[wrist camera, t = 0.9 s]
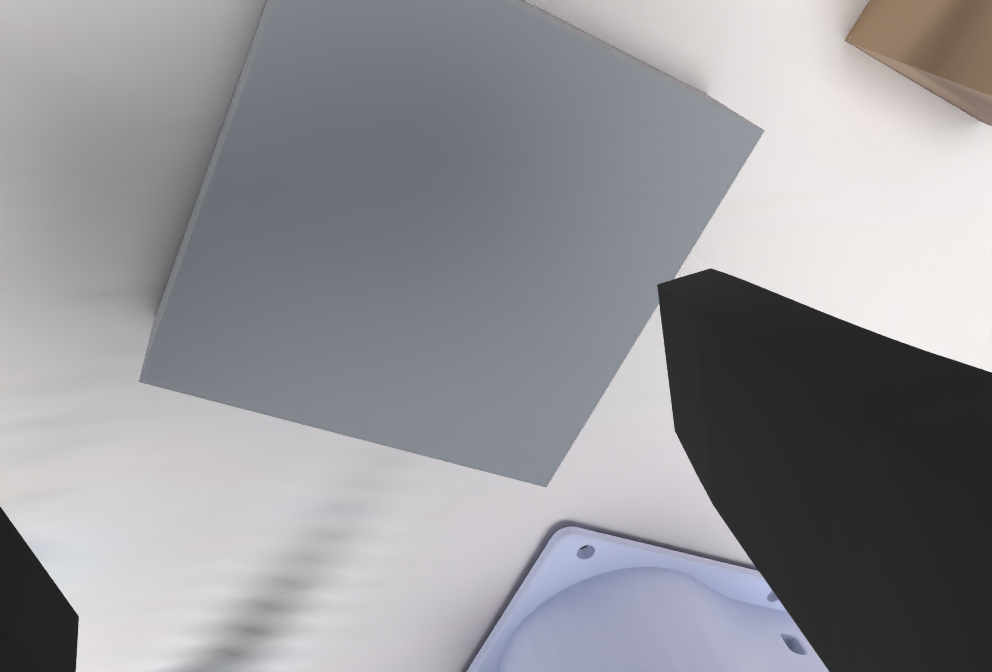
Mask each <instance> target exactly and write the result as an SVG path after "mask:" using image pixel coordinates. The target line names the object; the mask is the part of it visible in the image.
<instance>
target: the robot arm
mask: <svg viewBox="0 0 992 672" xmlns="http://www.w3.org/2000/svg"><path fill="white" fill-rule="evenodd" d="M657 288H658V296H659V304H660V312H661V321H662V329H663V337H664V345H665V353H666V362H667V370H668V378H669V386H670V394H671V402H672V411H673V419H674V427H675V432H676V434H677V436H678V438H679V440H680V442H681V444H682V446H683V448H684V450H685V452H686V454H687V456H688V458H689V460H690V462H691V464H692V466H693V468H694V470H695V472H696V474H697V475H698V477H699V479H700V481H701V483H702V485H703V487H704V489H705V490H706V492H707V494H708V496H709V498H710V500H711V502H712V504H713V505H714V507H715V508H716V510H717V511H718V513H719V514H720V516H721V517H722V519H723V520H724V522H725V523H726V524H727V526H728V527H729V529H730V530H731V532H732V533H733V535H734V536H735V537H736V539H737V540H738V542H739V543H740V545H741V546H742V548H743V549H744V551H745V552H746V553H747V555H748V556H749V558H750V559H751V561H752V562H753V564H754V565H755V566H756V568H757V569H758V571H757V570H752V569H748V568H744V567H740V566H736V565H732V564H728V563H724V562H719V561H715V560H711V559H707V558H703V557H699V556H695V555H690V554H686V553H682V552H678V551H674V550H670V549H666V548H661V547H657V546H653V545H649V544H645V543H641V542H637V541H632V540H628V539H624V538H620V537H616V536H612V535H608V534H604V533H599V532H595V531H591V530H587V529H583V528H579V527H571V526H569V527H565V528H562V529H560V530H558V531H557V532H556V533H555V534H554V535H553V536H552V537H551V539H550V540H549V542H548V543H547V545H546V547H545V548H544V550H543V551H542V553H541V554H540V556H539V558H538V559H537V561H536V562H535V564H534V566H533V567H532V569H531V570H530V572H529V573H528V575H527V577H526V578H525V580H524V581H523V583H522V584H521V586H520V588H519V589H518V591H517V592H516V594H515V596H514V597H513V599H512V600H511V602H510V603H509V605H508V607H507V608H506V610H505V611H504V613H503V614H502V616H501V618H500V619H499V621H498V622H497V624H496V626H495V627H494V629H493V630H492V632H491V633H490V635H489V637H488V638H487V640H486V641H485V643H484V645H483V646H482V648H481V649H480V651H479V652H478V654H477V656H476V657H475V659H474V660H473V662H472V663H471V665H470V667H469V668H468V670H467V671H466V672H992V373H991V372H988V371H985V370H982V369H979V368H976V367H973V366H970V365H967V364H964V363H961V362H958V361H955V360H952V359H949V358H946V357H942V356H939V355H936V354H933V353H930V352H927V351H924V350H921V349H919V348H916V347H913V346H910V345H907V344H905V343H902V342H899V341H896V340H894V339H891V338H888V337H885V336H883V335H880V334H877V333H875V332H872V331H869V330H867V329H864V328H861V327H859V326H856V325H854V324H851V323H849V322H846V321H843V320H841V319H838V318H836V317H833V316H831V315H828V314H826V313H823V312H821V311H818V310H816V309H813V308H811V307H808V306H806V305H803V304H801V303H799V302H796V301H794V300H791V299H789V298H786V297H784V296H781V295H779V294H777V293H774V292H772V291H769V290H767V289H764V288H762V287H759V286H757V285H754V284H752V283H749V282H747V281H744V280H742V279H739V278H737V277H734V276H731V275H729V274H726V273H723V272H720V271H717V270H714V269H707V270H704V271H701V272H697V273H694V274H691V275H687V276H684V277H680V278H677V279H674V280H670V281H667V282H664V283H660V284H657ZM585 545H588V546H587V547H586V548H584V549H580V548H581V547H583V546H585ZM78 621H79V616H78V615H77V613H76V612H75V611H74V609H73V608H72V606H71V605H70V604H69V602H68V601H67V599H66V598H65V597H64V595H63V594H62V592H61V591H60V590H59V588H58V587H57V585H56V584H55V583H54V581H53V580H52V578H51V577H50V576H49V574H48V573H47V571H46V570H45V569H44V567H43V566H42V564H41V563H40V562H39V560H38V559H37V557H36V556H35V555H34V553H33V552H32V550H31V549H30V548H29V546H28V545H27V543H26V542H25V541H24V539H23V538H22V536H21V535H20V534H19V532H18V531H17V529H16V528H15V527H14V525H13V524H12V522H11V521H10V520H9V518H8V517H7V515H6V514H5V513H4V511H3V510H2V508H1V507H0V672H75V671H76V656H77V638H78Z"/></svg>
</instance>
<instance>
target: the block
mask: <svg viewBox="0 0 992 672" xmlns="http://www.w3.org/2000/svg"><path fill="white" fill-rule="evenodd" d="M845 41H846V42H848V43H849V44H851V45H853V46H855V47H856V48H858V49H860V50H861V51H863V52H865V53H866V54H868V55H870V56H871V57H873V58H875V59H876V60H878V61H880V62H882V63H883V64H885V65H887V66H888V67H890V68H892V69H893V70H895V71H897V72H898V73H900V74H902V75H903V76H905V77H907V78H909V79H910V80H912V81H914V82H915V83H917V84H919V85H920V86H922V87H924V88H925V89H927V90H929V91H930V92H932V93H934V94H936V95H937V96H939V97H941V98H942V99H944V100H946V101H947V102H949V103H951V104H952V105H954V106H956V107H957V108H959V109H961V110H963V111H964V112H966V113H968V114H969V115H971V116H973V117H974V118H976V119H978V120H979V121H981V122H983V123H986V124H988V125H991V126H992V0H870V1H869V3H868V4H867V6H866V7H865V9H864V11H863V12H862V14H861V15H860V17H859V19H858V20H857V22H856V23H855V25H854V27H853V28H852V30H851V31H850V33H849V35H848V36H847V38H846V39H845Z"/></svg>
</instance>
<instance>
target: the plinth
mask: <svg viewBox="0 0 992 672" xmlns="http://www.w3.org/2000/svg"><path fill="white" fill-rule="evenodd" d="M763 132H764V130H762V129H761V128H759V127H758V126H756V125H754V124H753V123H751V122H750V121H748V120H746V119H745V118H743V117H742V116H740V115H738V114H737V113H735V112H734V111H732V110H731V109H729V108H727V107H726V106H724V105H723V104H721V103H719V102H718V101H716V100H715V99H713V98H711V97H710V96H708V95H706V94H704V93H702V92H700V91H698V90H696V89H694V88H692V87H691V86H689V85H687V84H685V83H683V82H681V81H679V80H677V79H675V78H673V77H671V76H669V75H667V74H665V73H663V72H661V71H659V70H657V69H655V68H653V67H652V66H650V65H648V64H646V63H644V62H642V61H640V60H638V59H636V58H634V57H632V56H630V55H628V54H626V53H624V52H622V51H620V50H618V49H616V48H615V47H613V46H611V45H609V44H607V43H605V42H603V41H601V40H599V39H597V38H595V37H593V36H591V35H589V34H587V33H585V32H583V31H581V30H579V29H577V28H576V27H574V26H572V25H570V24H568V23H566V22H564V21H562V20H560V19H558V18H556V17H554V16H552V15H550V14H548V13H546V12H544V11H542V10H540V9H538V8H537V7H535V6H533V5H531V4H529V3H527V2H525V1H523V0H267V1H266V4H265V6H264V9H263V12H262V15H261V18H260V21H259V23H258V26H257V29H256V32H255V35H254V38H253V41H252V43H251V46H250V49H249V52H248V55H247V58H246V60H245V63H244V66H243V69H242V72H241V75H240V77H239V80H238V83H237V86H236V89H235V92H234V94H233V97H232V100H231V103H230V106H229V109H228V112H227V114H226V117H225V120H224V123H223V126H222V129H221V131H220V134H219V137H218V140H217V143H216V146H215V148H214V151H213V154H212V157H211V160H210V163H209V165H208V168H207V171H206V174H205V177H204V180H203V182H202V185H201V188H200V191H199V194H198V197H197V200H196V202H195V205H194V208H193V211H192V214H191V217H190V219H189V222H188V225H187V228H186V231H185V234H184V236H183V239H182V242H181V245H180V248H179V251H178V253H177V256H176V259H175V262H174V265H173V268H172V271H171V273H170V276H169V279H168V282H167V285H166V288H165V290H164V293H163V296H162V299H161V302H160V305H159V307H158V310H157V313H156V316H155V319H154V323H153V327H152V331H151V335H150V339H149V343H148V347H147V351H146V355H145V359H144V363H143V367H142V371H141V375H140V379H139V382H142V383H146V384H150V385H153V386H157V387H161V388H165V389H169V390H173V391H177V392H180V393H184V394H188V395H192V396H196V397H200V398H204V399H207V400H211V401H215V402H219V403H223V404H227V405H231V406H234V407H238V408H242V409H246V410H250V411H254V412H258V413H261V414H265V415H269V416H273V417H277V418H281V419H285V420H289V421H292V422H296V423H300V424H304V425H308V426H312V427H316V428H319V429H323V430H327V431H331V432H335V433H339V434H343V435H346V436H350V437H354V438H358V439H362V440H366V441H370V442H373V443H377V444H381V445H385V446H389V447H393V448H397V449H400V450H404V451H408V452H412V453H416V454H420V455H424V456H428V457H431V458H435V459H439V460H443V461H447V462H451V463H455V464H458V465H462V466H466V467H470V468H474V469H478V470H482V471H485V472H489V473H493V474H497V475H501V476H505V477H509V478H512V479H516V480H520V481H524V482H528V483H532V484H536V485H539V486H543V487H547V485H548V484H549V482H550V480H551V479H552V477H553V475H554V474H555V472H556V470H557V469H558V467H559V466H560V464H561V462H562V461H563V459H564V457H565V456H566V454H567V452H568V451H569V449H570V448H571V446H572V444H573V443H574V441H575V439H576V438H577V436H578V435H579V433H580V431H581V430H582V428H583V426H584V425H585V423H586V421H587V420H588V418H589V417H590V415H591V413H592V412H593V410H594V408H595V407H596V405H597V403H598V402H599V400H600V399H601V397H602V395H603V394H604V392H605V390H606V389H607V387H608V386H609V384H610V382H611V381H612V379H613V377H614V376H615V374H616V372H617V371H618V369H619V368H620V366H621V364H622V363H623V361H624V359H625V358H626V356H627V354H628V353H629V351H630V350H631V348H632V346H633V345H634V343H635V341H636V340H637V338H638V336H639V335H640V333H641V332H642V330H643V328H644V327H645V325H646V323H647V322H648V320H649V319H650V317H651V315H652V314H653V312H654V310H655V309H656V307H657V305H658V304H659V296H658V288H657V284H660V283H664V282H667V281H670V280H673V279H674V278H675V276H676V274H677V273H678V271H679V269H680V268H681V266H682V265H683V263H684V261H685V260H686V258H687V256H688V255H689V253H690V252H691V250H692V248H693V247H694V245H695V243H696V242H697V240H698V238H699V237H700V235H701V234H702V232H703V230H704V229H705V227H706V225H707V224H708V222H709V220H710V219H711V217H712V216H713V214H714V212H715V211H716V209H717V207H718V206H719V204H720V202H721V201H722V199H723V198H724V196H725V194H726V193H727V191H728V189H729V188H730V186H731V185H732V183H733V181H734V180H735V178H736V176H737V175H738V173H739V171H740V170H741V168H742V167H743V165H744V163H745V162H746V160H747V158H748V157H749V155H750V153H751V152H752V150H753V149H754V147H755V145H756V144H757V142H758V140H759V139H760V137H761V135H762V134H763Z"/></svg>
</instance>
